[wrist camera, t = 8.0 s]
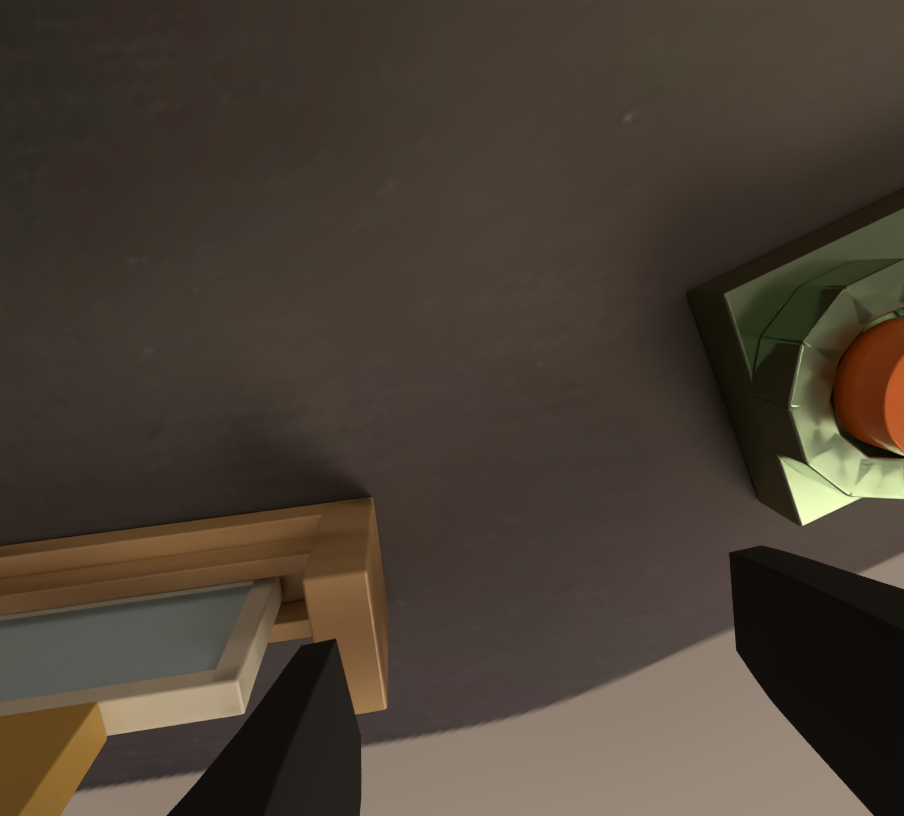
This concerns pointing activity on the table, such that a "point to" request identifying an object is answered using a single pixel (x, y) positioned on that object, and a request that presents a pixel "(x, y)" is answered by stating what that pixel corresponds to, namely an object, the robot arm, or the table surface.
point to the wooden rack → (233, 575)
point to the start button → (874, 386)
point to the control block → (806, 358)
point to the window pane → (120, 678)
